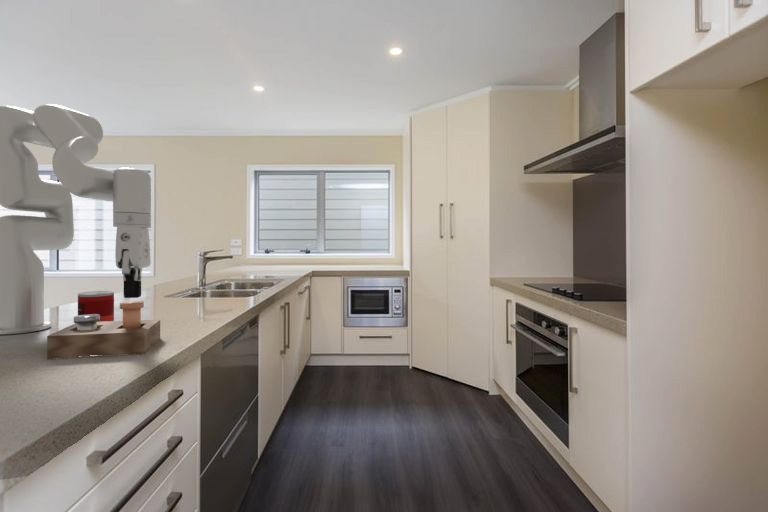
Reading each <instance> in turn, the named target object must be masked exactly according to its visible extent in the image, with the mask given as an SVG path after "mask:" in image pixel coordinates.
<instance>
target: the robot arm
mask: <svg viewBox="0 0 768 512" xmlns="http://www.w3.org/2000/svg"><path fill="white" fill-rule="evenodd" d="M103 137H104V130H103V126H102V124H101V123H100V122H99V121H98V120H97V119H96V118H95V117H93V116H92V115H89V114H87V113H84V112H80V111H78V110H74V109H71V108H68V107H65V106H62V105H58V104H52V103H51V104H50V103H47V104H42V105H39V106H36V108H35V109H34V111H32V110H28V109H26V108H22V107H21V108H20V107H17V106H11V105H0V206H1V207H3V208H4V209H8V210H12V211H13V210H14V211H19V212H33V213H44V215H45V216H36V215H34V216H33V215H20V214H19V215H18V214H10V215H3V216H0V335H15V334H17V335H18V334H26V333H33V332H39V331H42V330H47V329H50V328H51V327H52V322H51V321H49V320H48V321H47V320H45V266H44V264H43V262H42V260H41V258H40V257H39V256H38V255H37V254H36V253H35V252H34V251H57V250H58V251H59V250H60V251H61V250H65V249H67V248H69V247H70V245H72V243H73V241H74V237H75V235H74V233H75V232H74V230H75V229H74V228H75V227H74V207H73V197H72V195H74V196H76V197H80V198H84V199H91V200H100V201H101V200H102V201H106V202H112V208H113V209H112V212H113V213H112V227H114V228H116V234H115V253H114V254H115V266H116V267H117V268H118V269H121V275H122V279H123V298H124V299H136V298H137V299H138V298H140V297H141V296H142V273H143V272H142V271H143V269H145V268H146V269H147V268H148V267H150V266H151V264H152V263H151V242H150V233H149V229H151V228H152V177H151V175H150V173H149V172H148V171H146V170H143V169H138V168H132V167H131V168H129V167H120V168H116V169H115V170H112V169H106V168H104V167H103V168H102V167H98V166H93V165H92V166H91V165H87V164H85V163H88V162H90V161H92V160H94V158H95V157H96V156H97V155H98V152H99V144H100V143H101V142H102V140H103ZM24 143H29V144H32V145H37V146H42V147H46V148H50V149H54V150H55V151H54V152H53V156H52V163H51V164H52V170H53V173H54V176H55V177H56V179H57V180H58V181H56V180H48V179H41V177H40V174H39V162H38V160H37V158H36V156H35V155H34V154H33V152H32V151H31V150H30V149H29V148H28V146H26V145H25V144H24Z"/></svg>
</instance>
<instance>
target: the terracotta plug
mask: <svg viewBox="0 0 768 512" xmlns="http://www.w3.org/2000/svg"><path fill="white" fill-rule="evenodd" d="M144 305H145V302H144V301H143V300H142V301H141V300H131V301H122V302H119V309H121V310H122V321H123V329H125V328H141V320H142V317H141V316H142V314H141V312H142V311H141V310H142V309H143V308H144Z"/></svg>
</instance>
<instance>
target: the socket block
mask: <svg viewBox="0 0 768 512" xmlns="http://www.w3.org/2000/svg"><path fill="white" fill-rule="evenodd" d="M46 338H47V339H46V347H47V348H46V359H47V360H56V358H61V359H69V358H68V357H77V358H80V357H79V356H90V355H111V356H119V355H118V354H128V355H143V354H146V353H147V352H148V351H149V350H150V349H151V348H152V347H153V346H154V345H155V344H156V343H157V342H159V340H160V339H161V319H141V328H125V329H123V320H114V321H103V322H97V329H96V330H77V323H73V324H71V325H69V326H67V327H63V328H62V329H60V330H58V331H55V332H52V333H51V334H48V335H47V336H46ZM54 358H55V359H54Z"/></svg>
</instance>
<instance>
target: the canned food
mask: <svg viewBox="0 0 768 512" xmlns="http://www.w3.org/2000/svg"><path fill="white" fill-rule="evenodd" d="M87 314H98V315H100V321H97V322H103V321H115V316H114V315H115V292H114V291H112V290H93V291H84V292H79V293H78V294H77V316H79V315H87Z"/></svg>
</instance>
